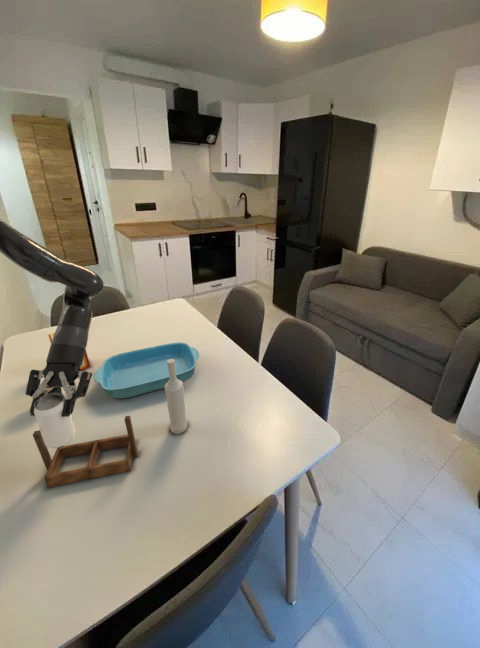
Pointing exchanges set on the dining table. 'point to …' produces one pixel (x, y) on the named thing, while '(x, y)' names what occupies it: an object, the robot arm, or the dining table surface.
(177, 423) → the bottle
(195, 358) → the casserole dish
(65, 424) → the can
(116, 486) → the dining table surface
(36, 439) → the frame
